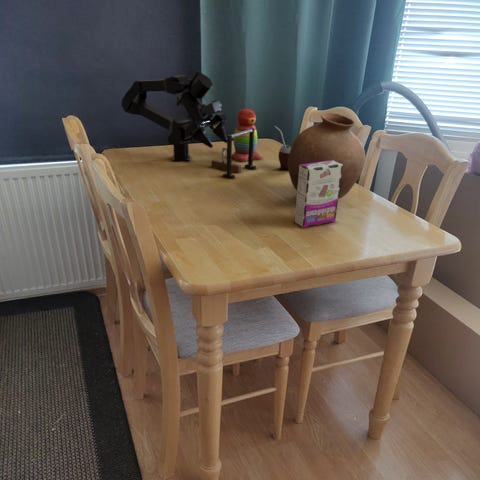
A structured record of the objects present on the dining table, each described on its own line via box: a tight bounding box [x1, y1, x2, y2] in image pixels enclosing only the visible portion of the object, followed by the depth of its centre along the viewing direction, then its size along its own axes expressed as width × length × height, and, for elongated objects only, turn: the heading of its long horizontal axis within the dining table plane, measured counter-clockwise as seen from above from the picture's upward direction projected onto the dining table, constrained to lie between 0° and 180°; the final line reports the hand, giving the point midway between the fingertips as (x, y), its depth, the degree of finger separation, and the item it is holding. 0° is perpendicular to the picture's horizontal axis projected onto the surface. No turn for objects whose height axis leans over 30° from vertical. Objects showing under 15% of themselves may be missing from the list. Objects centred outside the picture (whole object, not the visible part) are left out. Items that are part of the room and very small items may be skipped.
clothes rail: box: [222, 128, 257, 180], centre depth 169 cm, size 4×16×14 cm, turn 146°
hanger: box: [210, 147, 242, 174], centre depth 173 cm, size 12×2×8 cm, turn 57°
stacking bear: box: [232, 108, 263, 162], centre depth 185 cm, size 11×10×18 cm
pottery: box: [287, 112, 366, 200], centre depth 146 cm, size 23×23×25 cm
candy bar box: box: [294, 160, 343, 229], centre depth 132 cm, size 11×5×16 cm, turn 117°
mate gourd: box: [274, 125, 292, 171], centre depth 174 cm, size 8×8×15 cm
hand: (219, 144), depth 172 cm, fingers open, 9 cm apart
